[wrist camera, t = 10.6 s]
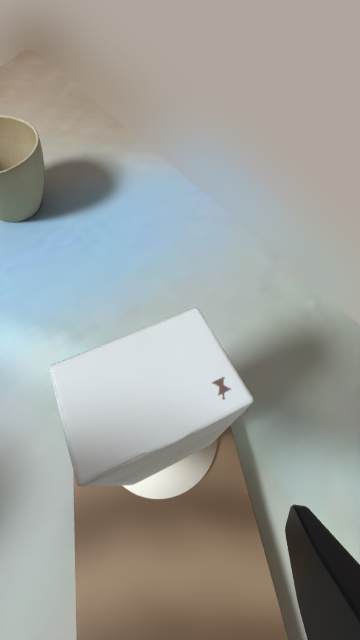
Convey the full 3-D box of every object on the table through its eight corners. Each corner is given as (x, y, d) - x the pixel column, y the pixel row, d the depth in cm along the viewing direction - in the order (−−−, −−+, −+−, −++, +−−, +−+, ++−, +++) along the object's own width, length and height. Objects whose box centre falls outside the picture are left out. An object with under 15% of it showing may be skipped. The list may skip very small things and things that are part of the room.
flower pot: (-30, 187, 34) (-74, 121, 28) (57, 174, 36) (34, 109, 30) (-33, 248, 30) (-86, 185, 23) (67, 229, 31) (42, 166, 25)
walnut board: (296, 689, 15) (308, 708, 14) (86, 762, 14) (77, 791, 13) (212, 372, 24) (214, 365, 23) (76, 397, 23) (70, 391, 21)
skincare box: (185, 388, 22) (202, 302, 11) (212, 444, 20) (262, 402, 9) (107, 424, 20) (43, 362, 10) (128, 488, 18) (77, 495, 8)
